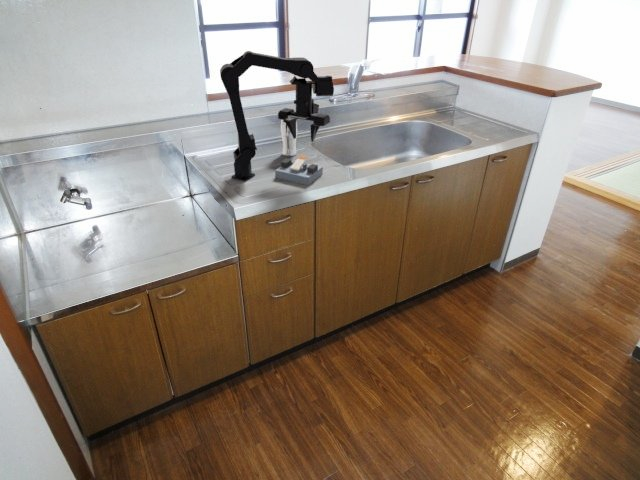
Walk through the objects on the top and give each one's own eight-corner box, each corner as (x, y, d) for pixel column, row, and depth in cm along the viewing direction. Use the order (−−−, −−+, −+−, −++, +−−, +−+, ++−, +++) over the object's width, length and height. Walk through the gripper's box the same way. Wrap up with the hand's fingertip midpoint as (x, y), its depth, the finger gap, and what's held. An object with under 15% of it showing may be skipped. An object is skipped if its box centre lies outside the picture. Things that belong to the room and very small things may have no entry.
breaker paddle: (298, 171, 156) (298, 169, 156) (290, 169, 158) (289, 167, 157) (308, 158, 161) (307, 156, 160) (300, 156, 162) (299, 154, 162)
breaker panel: (308, 185, 155) (308, 172, 152) (275, 177, 160) (274, 164, 157) (322, 174, 164) (322, 161, 161) (290, 167, 169) (290, 154, 166)
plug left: (286, 168, 160) (286, 163, 159) (281, 166, 161) (280, 161, 160) (291, 164, 163) (291, 159, 162) (286, 163, 164) (286, 158, 163)
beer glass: (298, 151, 184) (298, 116, 177) (296, 157, 179) (296, 121, 171) (282, 150, 185) (282, 116, 177) (279, 156, 179) (279, 120, 171)
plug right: (312, 173, 156) (312, 168, 155) (307, 172, 157) (307, 167, 156) (317, 170, 159) (317, 165, 158) (311, 168, 160) (312, 163, 159)
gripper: (337, 95, 152) (335, 137, 161) (291, 89, 159) (292, 130, 167) (323, 102, 144) (322, 146, 152) (276, 95, 150) (277, 138, 159)
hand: (303, 139), depth 158 cm, fingers open, 7 cm apart
